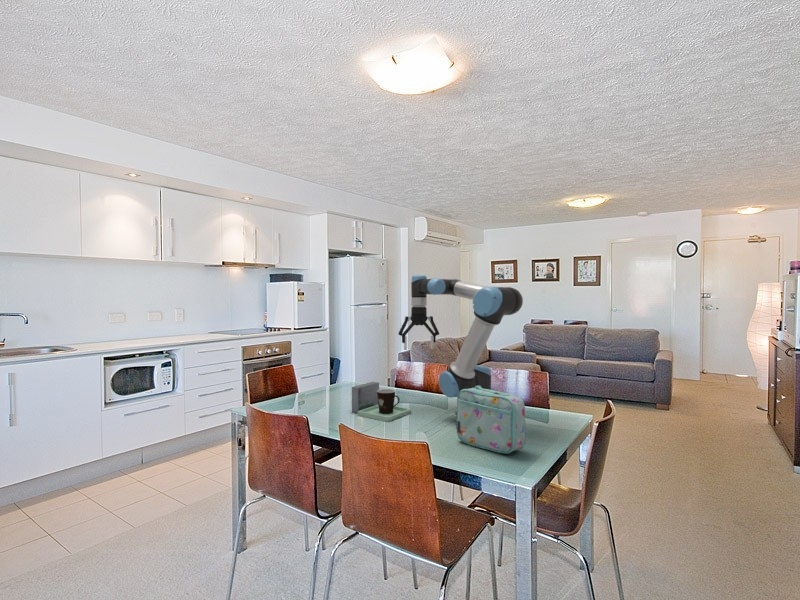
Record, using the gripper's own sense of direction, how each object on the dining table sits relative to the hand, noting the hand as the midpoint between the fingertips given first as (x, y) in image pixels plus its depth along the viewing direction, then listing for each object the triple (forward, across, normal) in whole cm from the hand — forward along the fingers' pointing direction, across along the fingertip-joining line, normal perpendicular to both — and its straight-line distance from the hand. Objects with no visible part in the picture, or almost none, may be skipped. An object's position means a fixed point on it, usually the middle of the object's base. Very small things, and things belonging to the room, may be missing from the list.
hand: (418, 349), depth 218 cm
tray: (+29, +18, +10) cm, 36 cm away
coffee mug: (+28, +17, +10) cm, 35 cm away
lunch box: (+29, -13, +59) cm, 67 cm away
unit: (+29, +26, -1) cm, 39 cm away
